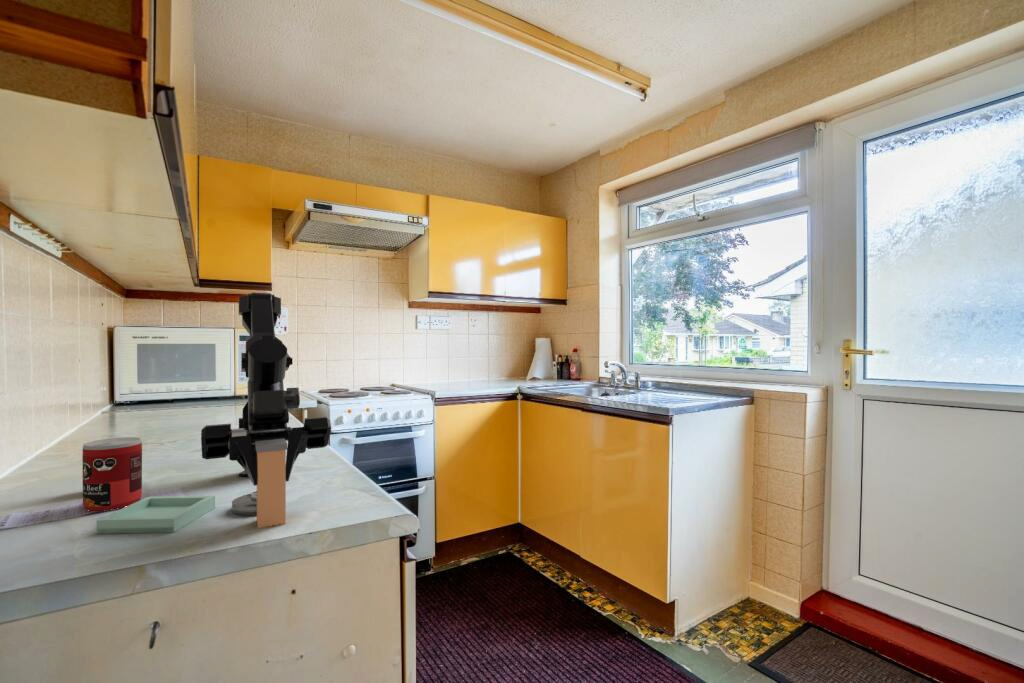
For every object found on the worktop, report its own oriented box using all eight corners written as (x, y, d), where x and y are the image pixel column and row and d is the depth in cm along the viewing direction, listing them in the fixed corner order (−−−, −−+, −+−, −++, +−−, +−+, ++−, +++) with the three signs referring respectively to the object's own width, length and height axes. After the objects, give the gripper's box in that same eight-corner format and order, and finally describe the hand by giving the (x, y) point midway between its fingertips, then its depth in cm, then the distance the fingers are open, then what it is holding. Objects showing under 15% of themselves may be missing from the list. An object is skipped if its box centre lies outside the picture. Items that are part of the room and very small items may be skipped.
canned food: (73, 508, 83) (73, 443, 83) (128, 495, 90) (128, 435, 90) (95, 515, 80) (95, 447, 80) (150, 501, 87) (150, 439, 87)
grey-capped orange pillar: (255, 520, 78) (255, 441, 78) (284, 515, 80) (284, 438, 80) (256, 529, 74) (256, 446, 74) (287, 523, 76) (287, 443, 76)
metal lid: (246, 500, 87) (246, 486, 87) (292, 499, 88) (292, 485, 88) (222, 516, 79) (222, 500, 79) (272, 515, 80) (272, 499, 80)
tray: (148, 508, 83) (148, 496, 83) (215, 507, 84) (215, 495, 84) (96, 533, 72) (96, 520, 72) (174, 532, 73) (174, 518, 73)
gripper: (201, 373, 76) (197, 460, 66) (329, 369, 85) (342, 445, 75) (203, 417, 82) (200, 502, 73) (321, 410, 92) (332, 483, 82)
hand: (271, 482), depth 76 cm, fingers open, 4 cm apart
